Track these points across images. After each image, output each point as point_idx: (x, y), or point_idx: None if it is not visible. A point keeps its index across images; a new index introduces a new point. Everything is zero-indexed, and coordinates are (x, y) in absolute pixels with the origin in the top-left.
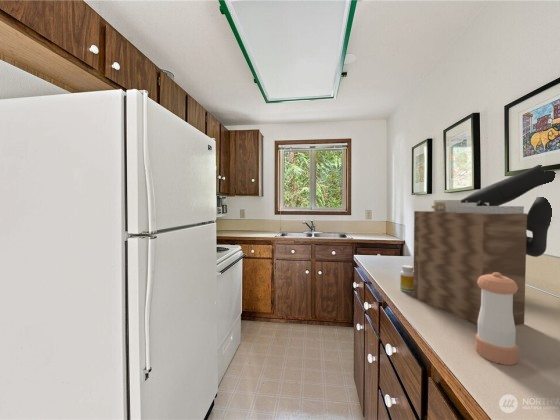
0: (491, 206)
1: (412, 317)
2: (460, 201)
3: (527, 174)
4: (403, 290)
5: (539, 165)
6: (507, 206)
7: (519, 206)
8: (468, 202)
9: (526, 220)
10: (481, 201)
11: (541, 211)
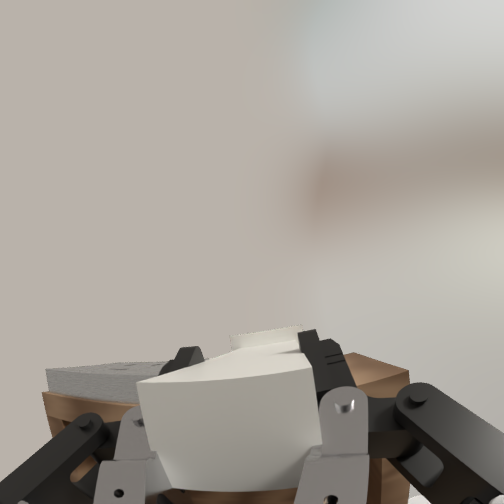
0: (124, 365)
1: None
2: (231, 342)
3: None
4: None
5: None
6: (89, 367)
7: (59, 368)
8: (299, 347)
9: (47, 414)
10: (180, 353)
11: None
